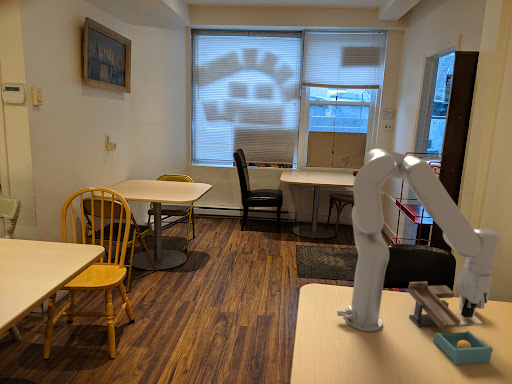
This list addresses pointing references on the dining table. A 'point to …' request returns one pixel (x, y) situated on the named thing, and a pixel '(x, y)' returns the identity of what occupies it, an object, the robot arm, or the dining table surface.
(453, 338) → the teal tray
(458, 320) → the walnut lever
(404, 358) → the dining table surface
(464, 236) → the robot arm
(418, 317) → the lever stand
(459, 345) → the orange ball
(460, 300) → the white cup
